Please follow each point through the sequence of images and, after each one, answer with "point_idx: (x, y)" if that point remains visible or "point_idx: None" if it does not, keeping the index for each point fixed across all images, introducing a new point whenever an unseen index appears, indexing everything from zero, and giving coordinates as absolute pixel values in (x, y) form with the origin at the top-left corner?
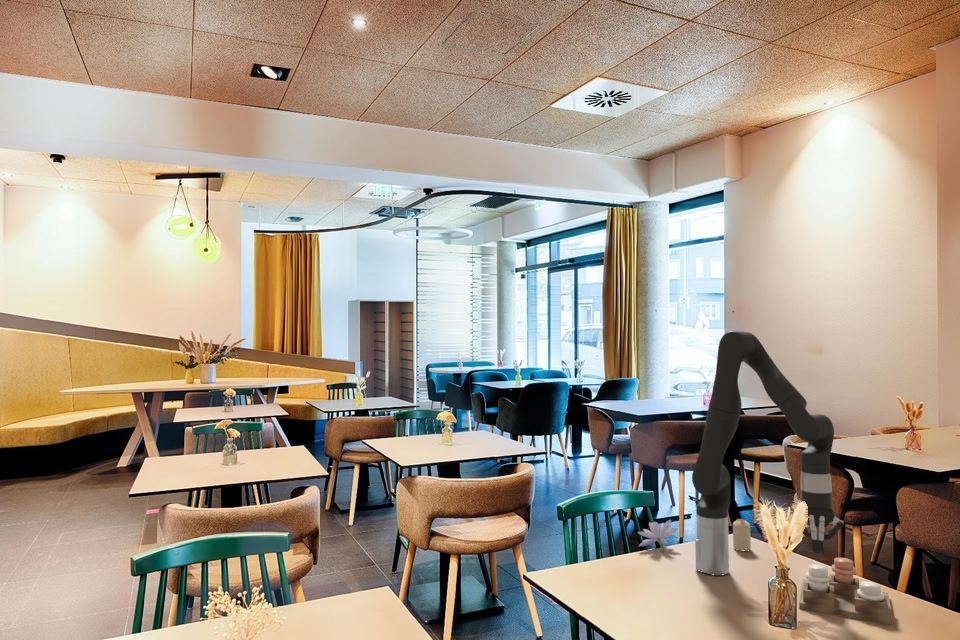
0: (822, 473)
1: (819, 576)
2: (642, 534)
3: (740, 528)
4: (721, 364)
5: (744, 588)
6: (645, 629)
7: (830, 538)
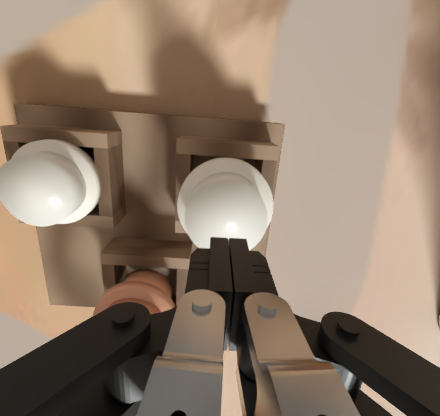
0: None
1: (222, 174)
2: None
3: None
4: None
5: (418, 218)
6: None
7: (109, 309)
